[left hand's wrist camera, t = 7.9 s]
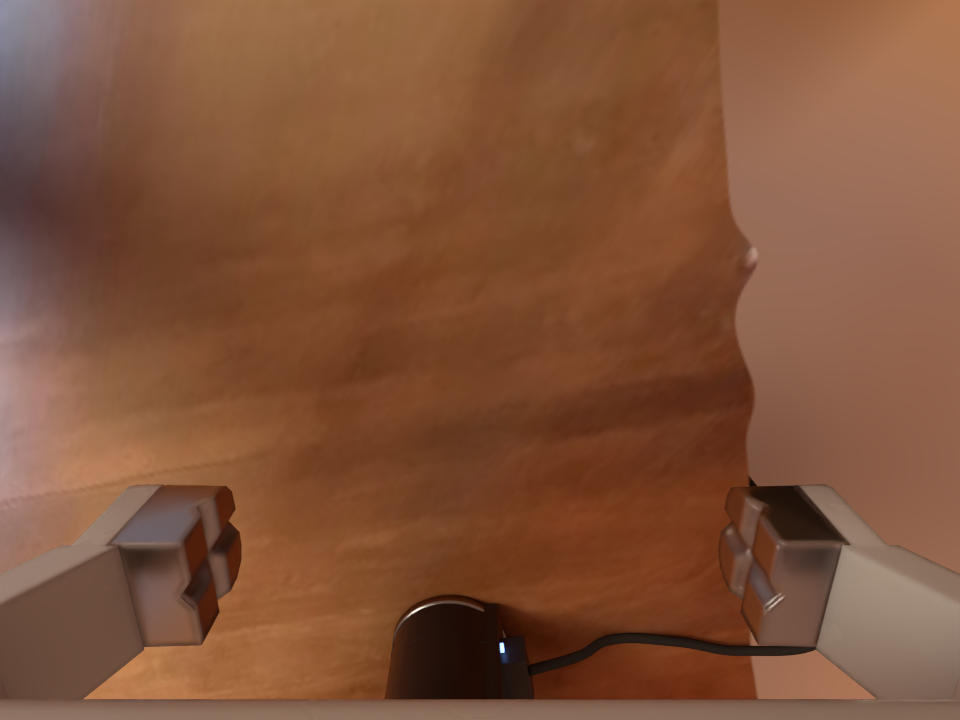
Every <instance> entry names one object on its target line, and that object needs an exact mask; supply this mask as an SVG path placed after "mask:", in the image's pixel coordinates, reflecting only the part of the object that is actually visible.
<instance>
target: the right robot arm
mask: <svg viewBox="0 0 960 720" xmlns="http://www.w3.org/2000/svg"><path fill="white" fill-rule="evenodd" d="M749 487H758V486H757V485H756V484H755V482H754V481H753V480H752V479H751V477H750V476H749ZM621 643H644V644H655V645H664V646H675V647H685V648H691V649H696V650H701V651H706V652H710V653H716V654H722V655H731V656H786V655H796V654H802V653H807V652H810V651H813V650H815V649H816V647H804V646H727V645H719V644H713V643H708V642H704V641H699V640H694V639H689V638H682V637H672V636H661V635H651V634H639V633H623V634H613V635H608V636H604V637H601V638H598V639H596V640H595V641H593V642H592V643H591V644H589V645H588V646H586V647H585V648H583V649H581V650H579V651H576V652H574V653H571V654H568V655H565V656H561V657H558V658H554V659H550V660H547V661H543V662H539V663H535V664H532V665H530V664H529V660H528V655H527V650H526V646H525V641H524V636H523V635H520V636H513V637H506V632H505V629H504V626H503V624H502V619H501V615H500V610H499V606H498V605H497V604H489V605H483V604H481V603H479V602H477V601H474V600H472V599H468V598H464V597H459V596H439V597H434V598H430V599H427V600H424V601H421V602H419V603H417V604H416V605H414V606H412V607H411V608H410V609H408V610H407V611H406V612H405V613H404V614H403V615H402V617H401V618H400V619H399V621H398V623H397V625H396V628H395V631H394V637H393V647H392V653H391V662H390V669H389V675H388V681H387V687H386V693H385V699H534V688H533V678H532V675H535V674H539V673H543V672H546V671H550V670H554V669H558V668H561V667H565V666H568V665H571V664H574V663H577V662H579V661H582V660H584V659H586V658H588V657H590V656H591V655H593V654H594V653H595V652H597V651H598V650H599V649H601V648H603V647H605V646H609V645H614V644H621Z"/></svg>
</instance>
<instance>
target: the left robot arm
mask: <svg viewBox="0 0 960 720" xmlns="http://www.w3.org/2000/svg"><path fill="white" fill-rule="evenodd" d="M234 511H235V504H234V499H233V494H232V491H231V490H230V489H229V488H228V487H227V486H197V485H134V486H130V487H128V488H127V489H126V490H125V491H124V492H123V493H122V494H121V495H120V496H119V497H118V498H117V499H116V500H115V501H114V502H113V503H112V504H111V505H110V506H109V507H108V508H107V510H106V511H105V512H104V513H103V514H102V515H101V516H100V517H99V518H98V519H97V520H96V521H95V522H94V523H93V524H92V525H91V526H90V527H89V528H88V529H87V530H86V531H85V532H84V533H83V534H82V535H81V536H80V537H79V539H78V540H77V541H76V542H75V543H74V544H73V545H70V546H59V547H57V548H55V549H53V550H51V551H49V552H47V553H44V554H42V555H40V556H38V557H36V558H34V559H31V560H29V561H27V562H25V563H23V564H21V565H19V566H16V567H14V568H12V569H10V570H8V571H6V572H3V573H1V574H0V720H960V574H959V573H956V572H954V571H952V570H950V569H948V568H946V567H944V566H941V565H939V564H937V563H935V562H933V561H931V560H928V559H926V558H924V557H922V556H920V555H918V554H916V553H913V552H911V551H909V550H907V549H905V548H903V547H901V546H890V545H887V544H886V543H885V542H884V541H883V540H882V538H881V537H880V536H879V535H878V534H877V533H876V532H875V531H874V530H873V529H872V528H871V527H870V526H869V525H868V524H867V523H866V522H865V521H864V520H863V519H862V518H861V517H860V516H859V515H858V514H857V513H856V511H854V509H853V508H852V507H851V506H850V505H849V504H848V503H847V502H846V501H845V500H844V499H843V498H842V497H841V496H840V495H839V494H838V493H837V492H836V491H835V490H834V489H833V488H832V487H830V486H827V485H825V484H817V485H793V486H759V487H731V488H730V490H729V492H728V495H727V498H726V503H725V511H726V512H727V514H728V516H729V517H730V519H731V522H730V523H729V524H728V525H727V526H726V527H725V528H724V529H723V530H722V531H721V533H720V540H719V548H718V552H719V563H720V569H721V572H722V576H723V579H724V581H725V583H726V585H727V587H728V589H729V591H730V592H732V593H733V594H735V595H736V596H738V597H739V598H741V599H742V600H743V601H742V607H741V614H742V616H743V617H744V619H745V621H746V623H747V625H748V627H749V629H750V630H751V632H752V634H753V636H754V638H755V640H756V642H757V643H758V645H768V646H804V647H816V650H817V651H818V652H820V653H821V654H822V655H823V656H825V657H826V658H827V659H828V660H830V661H831V662H832V663H833V664H835V665H836V666H837V667H838V668H839V669H841V670H842V671H843V672H844V673H846V674H847V675H848V676H849V677H851V678H852V679H853V680H854V681H856V682H857V683H858V684H859V685H860V686H862V687H863V688H864V689H865V690H867V691H868V692H869V693H870V694H872V695H873V696H874V697H875V698H877V699H84V698H85V697H86V696H87V695H89V694H90V693H91V692H92V691H94V690H95V689H96V688H97V687H98V686H100V685H101V684H102V683H103V682H105V681H106V680H107V679H108V678H110V677H111V676H112V675H113V674H115V673H116V672H117V671H118V670H120V669H121V668H122V667H123V666H125V665H126V664H127V663H128V662H130V661H131V660H132V659H133V658H135V657H136V656H137V655H138V654H140V653H141V652H142V651H143V650H144V647H156V646H190V645H202V644H203V642H204V640H205V638H206V636H207V634H208V632H209V631H210V629H211V627H212V625H213V623H214V621H215V619H216V617H217V616H218V614H219V607H218V601H217V600H218V599H219V598H221V597H222V596H224V595H225V594H227V593H228V592H230V591H231V589H232V587H233V585H234V583H235V581H236V579H237V576H238V572H239V567H240V563H241V539H240V532H239V531H238V530H237V529H236V528H235V527H234V526H233V525H232V524H231V523H230V522H229V519H230V517H231V516H232V514H233V512H234Z"/></svg>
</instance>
